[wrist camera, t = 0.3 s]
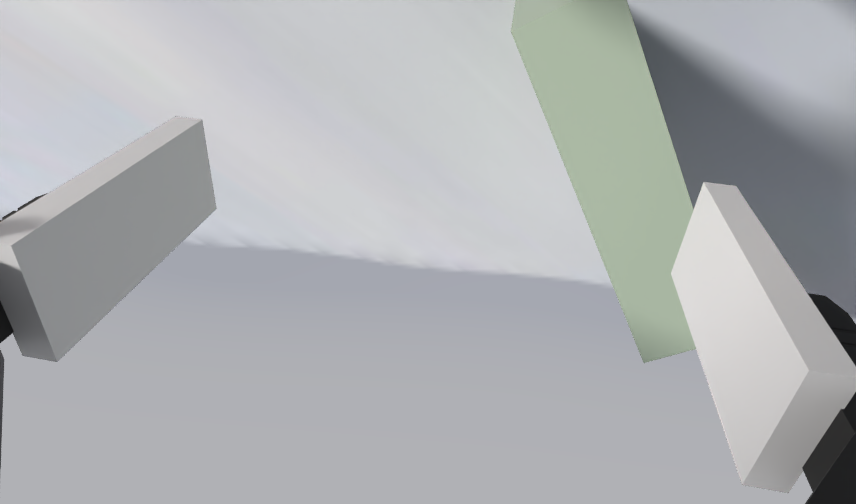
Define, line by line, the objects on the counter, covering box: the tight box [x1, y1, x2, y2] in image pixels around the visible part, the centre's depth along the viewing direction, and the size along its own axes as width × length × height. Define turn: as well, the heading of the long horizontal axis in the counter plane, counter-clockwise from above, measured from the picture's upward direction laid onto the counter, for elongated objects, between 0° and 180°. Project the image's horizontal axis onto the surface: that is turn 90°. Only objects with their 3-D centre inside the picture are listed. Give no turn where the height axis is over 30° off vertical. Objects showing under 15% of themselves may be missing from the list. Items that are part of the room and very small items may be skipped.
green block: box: [511, 0, 696, 363], centre depth 28 cm, size 3×12×24 cm, turn 26°
